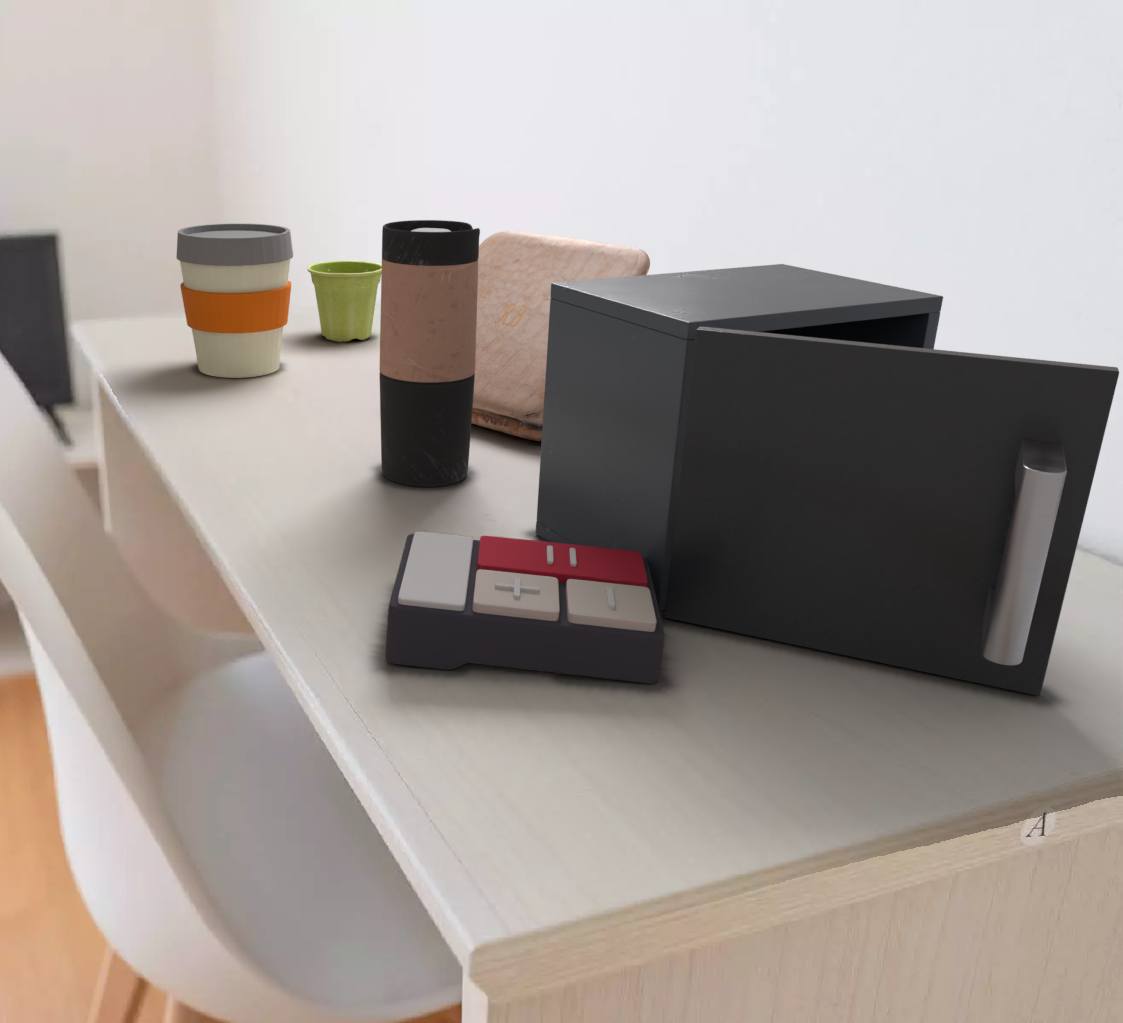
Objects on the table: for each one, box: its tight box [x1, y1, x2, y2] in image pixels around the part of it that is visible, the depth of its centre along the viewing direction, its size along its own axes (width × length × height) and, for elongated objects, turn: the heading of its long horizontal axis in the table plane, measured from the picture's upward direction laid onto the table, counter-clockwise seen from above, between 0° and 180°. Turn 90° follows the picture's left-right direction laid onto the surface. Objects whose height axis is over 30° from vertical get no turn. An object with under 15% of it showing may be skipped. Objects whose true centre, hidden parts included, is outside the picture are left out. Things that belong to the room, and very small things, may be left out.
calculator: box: [384, 531, 666, 685], centre depth 68 cm, size 11×4×15 cm
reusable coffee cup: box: [175, 223, 294, 379], centre depth 126 cm, size 13×13×15 cm
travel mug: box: [379, 219, 481, 488], centre depth 92 cm, size 8×8×20 cm
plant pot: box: [307, 260, 382, 343], centre depth 142 cm, size 9×9×9 cm
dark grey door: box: [664, 326, 1120, 697], centre depth 61 cm, size 6×20×18 cm, turn 62°
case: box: [471, 230, 651, 442], centre depth 111 cm, size 20×21×16 cm
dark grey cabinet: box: [535, 263, 944, 612], centre depth 78 cm, size 14×20×18 cm
